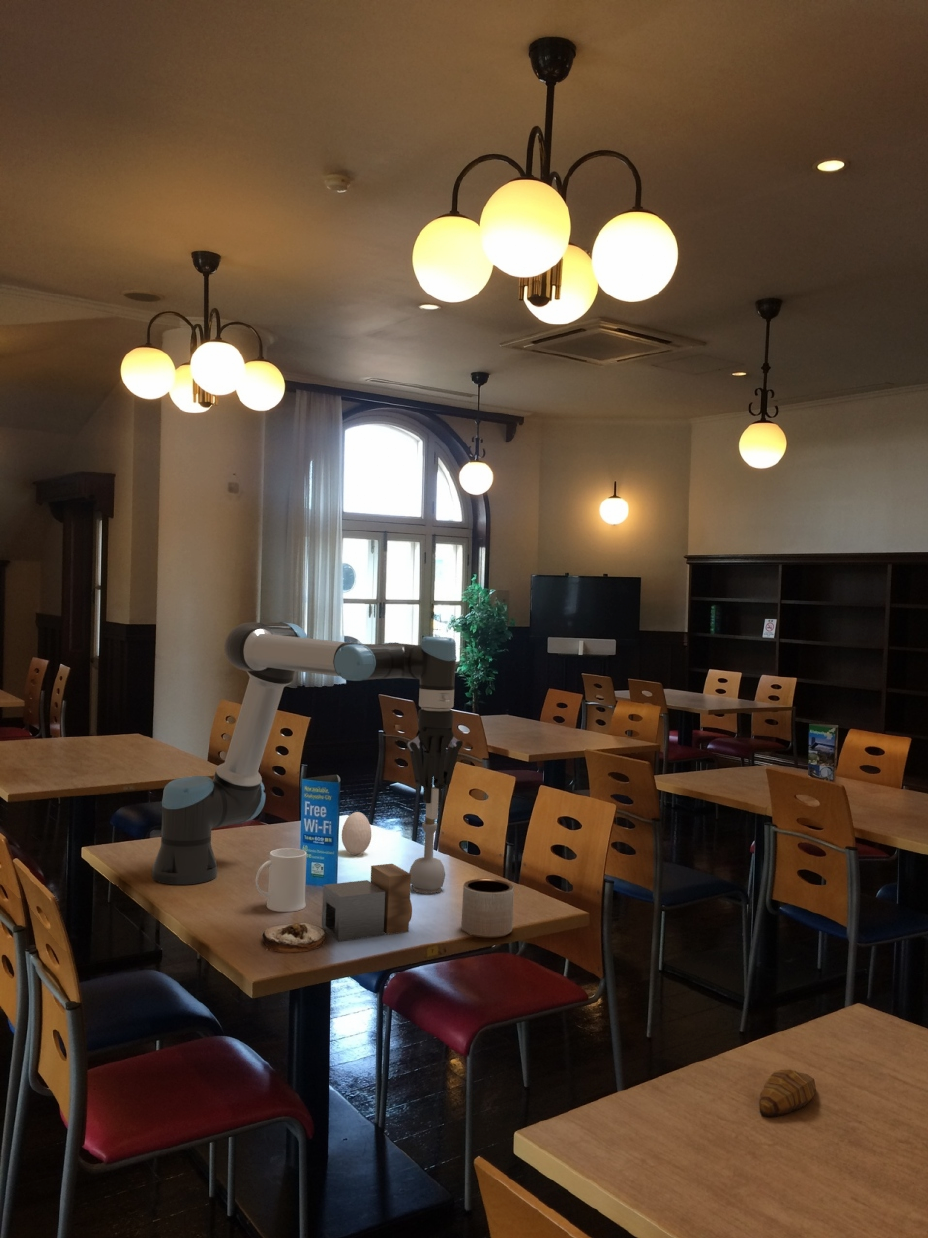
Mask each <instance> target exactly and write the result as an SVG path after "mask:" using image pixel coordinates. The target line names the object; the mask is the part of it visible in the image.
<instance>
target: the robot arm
mask: <svg viewBox="0 0 928 1238" xmlns="http://www.w3.org/2000/svg"><path fill="white" fill-rule="evenodd" d="M456 646H457V645H456V641H455V639H453V638H452V637H447V636H446V637H444V636H442V637H441V636H424V637H422V638H421V643H420V644H409V643H400V642H384V643H374V644H373V643H359V642H358V643H357V642H348V641H347V642H346V641H335V640H325V639H317V638H310V637H309V638H308V634H307V633H306V632H305V630H304V629H303V628H302V627H301V626H299V625H297V624H295V623H290V622H289V623H288V622H285V621H279V622H254V621H253V622H251V621H250V622H244V623H240V624H238V625H237V626H235V627H234V628H232V629H231V630H230V632H228V634H227V636H226V639H225V641H224V653H225V656H226V659H227V661H228V663H230V664H231V665H232V666H233V667H234V668H236V669H238V670H241V671H244V672H246V673H247V675H248V676H249V679H248V684H247V686H246V689H245V693H244V695H243V696H244V697H243V699H242V704H241V707H240V710H239V713H238V717H237V720H236V724H235V726H234V729H233V733H232V737H231V740H230V744H229V747H228V750H227V753H226V756H225V759H224V762H223V763H221V764H219V765H218V766H217V767H216V769H215V772H214V775H213V779H212V778H211V777H209V776H205V775H194V776H193V775H192V776H185V777H184V776H183V777H180V778H175V779H173V780H171V781H170V782H169V781H168V783H167V784H166V785H165V786H164V788H163V790H162V791H163V793H162V794H163V795H162V799H161V806H162V807H161V808H162V810H161V811H162V812H161V814H162V815H161V835H160V838H161V839H160V847H159V848H158V852H157V855H156V858H155V860H154V863H153V865H152V871H151V872H152V873H151V878H152V880H153V881H155V882H157V883H161V884H167V885H176V886H177V885H178V886H179V885H182V886H183V885H194V884H195V885H197V884H201V883H202V884H203V883H206V882H210V881H212V880H214V879H215V878H217V876H218V865H217V861H216V858H215V854H214V850H213V847H212V829H218V828H222V827H226V826H230V825H240V824H243V823H246V822H248V821H252V820H253V819H255V818H256V817H258V815H259V814H260V813H261V812H262V811H263V809H264V806H265V803H266V792H264V791H265V785H264V783H263V781H262V780H263V778H262V777H263V776H261V773H260V772H259V771H260V769H259V768H260V767H261V766H260V765H261V763H262V760H263V757H264V752H265V750H266V748H267V747H266V746H267V744H268V740H269V737H270V734H271V731H272V727H273V725H274V721H275V718H276V714H277V711H278V708H279V704H280V701H281V698H282V695H283V691H284V688H285V687H286V686H288V685H290V684H292V682H293V679H294V677H295V674H296V672H302V673H309V674H315V675H317V674H318V675H323V676H324V675H325V676H330V677H331V676H333V677H340V678H341V679H343V680H345V681H346V680H347V681H353V682H361V681H368V680H376V679H377V680H383V679H410V680H411V679H413V680H419V691H418V692H419V694H418V696H419V697H418V706H419V707H420V709H419V710H418V715H417V717H418V719H417V726H418V727H417V728H418V729H417V732H416V734H415V735H416V736H415V737H414V738H413V739H412V740H408V741H406V743H405V746H406V747H407V749H408V751H409V753H410V759H411V760H410V761H411V766H412V770H413V777H414V781H415V784H416V785H418V786H421V787H422V788H423V791H422V797H423V798H422V801H423V803H425V815H426V817H427V818H429V819H435V820H438V818H439V816H438V815H439V814H438V813H439V804H440V803H442V798H443V797H442V795H443V789H445V786H446V785H447V786H449V785H450V784H451V783H452V778H453V774H454V771H455V767H456V762H457V760H458V759H457V758H458V754H459V751H460V749H461V748H462V746H463V744H464V743H463V741H462V740H460V739H458V738H456V737H455V736H454V735H455V734H454V732H453V726H454V711H453V710H452V708H454V706H455V705H454V704H455V703H454V702H455V700H454V699H455V675H456V663H457V654H456V653H457V652H456V651H457V647H456ZM420 746H421V747H422V754H423V761H422V756H421V752H420V751H421V750H420V748H421V747H420ZM448 746H449V747H448ZM447 748H448V749H447ZM446 752H447V753H446Z"/></svg>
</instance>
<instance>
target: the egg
mask: <svg viewBox="0 0 928 1238" xmlns="http://www.w3.org/2000/svg"><path fill="white" fill-rule="evenodd" d="M371 840H372V828H371V824H370V822H369V820H368V817H366V815H365V814H364V813H362V812H360V811H355V812H353V813H351V814H349V816H348V817H347V818H346V820H345V822H344V824H343V825H342V829H341V842H342V845H343V847H344V848H345V850H346V851H347V852H348V853H350V854H352V855H354V856H356V855H357V856H358V855H360V854H362V853H364V852H365V851H366V850H367V849H368V848H369V847H370V843H371Z"/></svg>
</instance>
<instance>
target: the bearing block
mask: <svg viewBox="0 0 928 1238" xmlns="http://www.w3.org/2000/svg"><path fill="white" fill-rule="evenodd" d="M321 909H322V911H321V914H322V915H321V929H323V930H324V931H325V933H327V934H328V935H330V936H331V937H332V938H333V939H334V940H336V942H338V943H339V942H346V941H351V940H359V939H365V938H366V939H367V938H372V937H373V938H374V937H379V936H381V937H382V936H384V934H385V933H384V910H385V891H384V890H382V889H380V888H379V887H377V886H376V885H374V884H373V883H371V880H367V879H364V880H357V881H345V882H338V883H329V884H323V885H322V907H321Z"/></svg>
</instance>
